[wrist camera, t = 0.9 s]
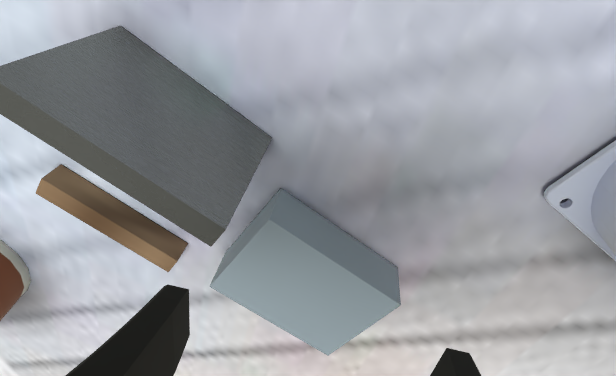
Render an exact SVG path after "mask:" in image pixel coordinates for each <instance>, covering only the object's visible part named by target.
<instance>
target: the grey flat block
mask: <svg viewBox="0 0 616 376" xmlns="http://www.w3.org/2000/svg"><path fill="white" fill-rule="evenodd" d="M0 114H1V115H3V116H4V117H6V118H8V119H9V120H11V121H12V122H14V123H16V124H17V125H19V126H20V127H22V128H24V129H25V130H27V131H28V132H30V133H31V134H33V135H35V136H36V137H38V138H39V139H41V140H43V141H44V142H46V143H47V144H49V145H50V146H52V147H54V148H55V149H57V150H58V151H60V152H62V153H63V154H65V155H66V156H68V157H70V158H71V159H73V160H74V161H76V162H77V163H79V164H81V165H82V166H84V167H85V168H87V169H89V170H90V171H92V172H93V173H95V174H96V175H98V176H100V177H101V178H103V179H104V180H106V181H108V182H109V183H111V184H112V185H114V186H116V187H117V188H119V189H120V190H122V191H123V192H125V193H127V194H128V195H130V196H131V197H133V198H135V199H136V200H138V201H139V202H141V203H143V204H144V205H146V206H147V207H149V208H150V209H152V210H154V211H155V212H157V213H158V214H160V215H162V216H163V217H165V218H166V219H168V220H169V221H171V222H173V223H174V224H176V225H177V226H179V227H181V228H182V229H184V230H185V231H187V232H189V233H190V234H192V235H193V236H195V237H196V238H198V239H200V240H201V241H203V242H204V243H206V244H208V245H209V246H212V245H213V244H214V243H215V242H216V240H217V239H218V238H219V237H220V236H221V235H222V233H223V232H224V231H225V230H226V228H227V226H228V224H229V222H230V220H231V218H232V216H233V214H234V212H235V210H236V208H237V206H238V204H239V202H240V201H241V199H242V197H243V195H244V193H245V191H246V189H247V187H248V185H249V183H250V181H251V179H252V177H253V175H254V173H255V171H256V169H257V167H258V165H259V163H260V161H261V159H262V157H263V155H264V153H265V151H266V149H267V147H268V145H269V143H270V142H271V140H272V137H270V136H269V135H268V134H266V133H265V132H264V131H262V130H261V129H260V128H258V127H257V126H256V125H254V124H253V123H251V122H250V121H249V120H247V119H246V118H245V117H243V116H242V115H241V114H239V113H238V112H237V111H235V110H234V109H233V108H231V107H230V106H228V105H227V104H226V103H224V102H223V101H222V100H220V99H219V98H218V97H216V96H215V95H214V94H212V93H211V92H209V91H208V90H207V89H205V88H204V87H203V86H201V85H200V84H199V83H197V82H196V81H195V80H193V79H192V78H191V77H189V76H188V75H186V74H185V73H184V72H182V71H181V70H180V69H178V68H177V67H176V66H174V65H173V64H172V63H170V62H169V61H167V60H166V59H165V58H163V57H162V56H161V55H159V54H158V53H157V52H155V51H154V50H153V49H151V48H150V47H149V46H147V45H146V44H144V43H143V42H142V41H140V40H139V39H138V38H136V37H135V36H134V35H132V34H131V33H130V32H128V31H127V30H125V29H124V28H123V27H121V26H118V27H115V28H112V29H109V30H106V31H103V32H100V33H97V34H94V35H91V36H88V37H85V38H82V39H79V40H76V41H73V42H70V43H67V44H64V45H61V46H58V47H55V48H52V49H49V50H46V51H44V52H41V53H38V54H35V55H32V56H29V57H26V58H23V59H20V60H17V61H14V62H11V63H8V64H5V65H2V66H0Z"/></svg>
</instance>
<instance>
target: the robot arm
mask: <svg viewBox="0 0 616 376" xmlns="http://www.w3.org/2000/svg"><path fill="white" fill-rule="evenodd" d="M544 198H545V199H546V201H547V202H548V203H549V204H550V205H551V206H552V207H553V208H554V209H556V210H557V211H558V212H559V213H560V214H561V215H562V216H564V217H565V218H566V219H567V220H568V221H569V222H571V223H572V224H573V225H574V226H575V227H576V228H577V229H579V230H580V231H581V232H582V233H583V234H584V235H586V236H587V237H588V238H589V239H590V240H591V241H592V242H594V243H595V244H596V245H597V246H598V247H599V248H601V249H602V250H603V251H604V252H605V253H606V254H608V255H609V256H610V257H611V258H612V259H613V260H614V261H616V140H615V141H614V142H612V143H611V144H609V145H608V146H606V147H605V148H604V149H602V150H601V151H599V152H598V153H596V154H595V155H593V156H592V157H591V158H589V159H588V160H586V161H585V162H583V163H582V164H580V165H579V166H578V167H576V168H575V169H573V170H572V171H570V172H569V173H568V174H566V175H565V176H563V177H562V178H560V179H559V180H557V181H556V182H555V183H553V184H552V185H550V186H549V187H548V188H547V189H546V190H545V192H544ZM568 198H569V199H568ZM563 199H568V200H567V201H566V202H564V203H560V202H561V201H562V200H563ZM189 335H190V332H189V289H185V288H180V287H176V286H172V285H166V286H164V287H163V288H162V289H161V290H160V291H159V292H158V293H157V294H156V295H155V296H154V297H153V298H152V299H151V300H150V301H149V302H148V303H147V304H146V305H145V306H144V307H143V308H142V309H141V310H140V311H139V312H138V313H137V314H136V315H135V316H134V317H132V318H131V319H130V320H129V321H128V322H127V323H126V324H125V325H124V326H123V327H122V328H121V329H119V330H118V331H117V332H116V333H115V334H114V335H113V336H112V337H111V338H109V339H108V340H107V341H106V342H105V343H104V344H103V345H102V346H100V347H99V348H98V349H97V350H96V351H95V352H94V353H92V354H91V355H90V356H89V357H88V358H86V359H85V360H84V361H83V362H81V363H80V364H79V365H78V366H77V367H75V368H74V369H73V370H72V371H71V372H69V373H68V374H67V375H66V376H173V375H174V373H175V371H176V368H177V366H178V363H179V361H180V359H181V356H182V353H183V351H184V348H185V346H186V343H187V340H188V338H189ZM430 376H481V374H480V372H479V370H478V369H477V367H476V365H475V363H474V361H473V359H472V357H471V355H470V354H469V353H466V352H462V351H457V350H453V349H449V348H446V350H445V352H444V353H443V355H442V357H441V358H440V360H439V362H438V363H437V365H436V367H435V368H434V370H433V372H432V373H431V375H430Z"/></svg>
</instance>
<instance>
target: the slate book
mask: <svg viewBox="0 0 616 376" xmlns="http://www.w3.org/2000/svg"><path fill="white" fill-rule="evenodd" d="M210 287H211V288H213V289H214V290H216V291H218V292H220V293H221V294H223V295H225V296H226V297H228V298H230V299H232V300H233V301H235V302H237V303H238V304H240V305H242V306H244V307H245V308H247V309H249V310H250V311H252V312H254V313H256V314H257V315H259V316H261V317H262V318H264V319H266V320H268V321H269V322H271V323H273V324H274V325H276V326H278V327H280V328H281V329H283V330H285V331H287V332H288V333H290V334H292V335H293V336H295V337H297V338H299V339H300V340H302V341H304V342H305V343H307V344H309V345H311V346H312V347H314V348H316V349H317V350H319V351H321V352H323V353H324V354H326V355H330V354H331V353H332V352H334V351H335V350H337V349H338V348H340V347H341V346H343V345H344V344H345V343H347V342H348V341H350V340H351V339H353V338H354V337H355V336H357V335H358V334H360V333H361V332H363V331H364V330H366V329H367V328H368V327H370V326H371V325H373V324H374V323H376V322H377V321H378V320H380V319H381V318H383V317H384V316H386V315H387V314H389V313H390V312H391V311H393V310H394V309H396V308H397V307H399V306H400V305H401V303H400V290H399V278H398V268H397V267H396V266H394V265H393V264H391V263H390V262H389V261H387V260H386V259H384V258H383V257H381V256H380V255H378V254H377V253H375V252H374V251H372V250H371V249H369V248H368V247H367V246H365V245H364V244H362V243H361V242H359V241H358V240H356V239H355V238H353V237H352V236H350V235H349V234H347V233H346V232H344V231H343V230H342V229H340V228H339V227H337V226H336V225H334V224H333V223H331V222H330V221H328V220H327V219H325V218H324V217H322V216H321V215H320V214H318V213H317V212H315V211H314V210H312V209H311V208H309V207H308V206H306V205H305V204H303V203H302V202H300V201H299V200H297V199H296V198H295V197H293V196H292V195H290V194H289V193H287V192H286V191H284V190H283V189H280V190H279V191H278V192H277V193H276V194H275V196H274V197H273V198H272V199H271V200H270V201H269V203H268V204H267V205H266V206H265V207H264V208H263V210H262V211H261V212H260V213H259V214H258V215H257V217H256V218H255V219H254V220H253V221H252V222H251V224H250V225H249V226H248V227H247V228H246V229H245V231H244V232H243V233H242V234H241V235H240V236H239V238H238V239H237V240H236V241H235V242H234V243H233V245H232V246H231V247H230V248H229V249H228V250H227V252H226V253H225V255H224V257H223V259H222V261H221V263H220V265H219V267H218V270H217V272H216V274H215V276H214V278H213V280H212V282H211V285H210Z"/></svg>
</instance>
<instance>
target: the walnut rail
mask: <svg viewBox="0 0 616 376" xmlns="http://www.w3.org/2000/svg"><path fill="white" fill-rule="evenodd" d="M36 194H38V195H39V196H41V197H43V198H44V199H46V200H48V201H49V202H51V203H53V204H55V205H56V206H58V207H60V208H61V209H63V210H65V211H66V212H68V213H70V214H71V215H73V216H75V217H76V218H78V219H80V220H81V221H83V222H85V223H86V224H88V225H90V226H92V227H93V228H95V229H97V230H98V231H100V232H102V233H103V234H105V235H107V236H108V237H110V238H112V239H113V240H115V241H117V242H118V243H120V244H122V245H123V246H125V247H127V248H129V249H130V250H132V251H134V252H135V253H137V254H139V255H140V256H142V257H144V258H145V259H147V260H149V261H150V262H152V263H154V264H155V265H157V266H159V267H160V268H162V269H164V270H166V271H167V272H169V271H170V270H171V268H172V267H173V266H174V265H175V263H176V262H177V261H178V259H179V258H180V256H181V254H182V253H183V251H184V249H185V248H186V246H187V244H188V243H186V242H185V241H183V240H182V239H180V238H178V237H177V236H175V235H174V234H172V233H170V232H169V231H167V230H166V229H164V228H162V227H161V226H159V225H158V224H156V223H154V222H153V221H151V220H150V219H148V218H146V217H145V216H143V215H141V214H140V213H138V212H137V211H135V210H133V209H132V208H130V207H129V206H127V205H125V204H124V203H122V202H121V201H119V200H117V199H116V198H114V197H113V196H111V195H109V194H108V193H106V192H105V191H103V190H101V189H100V188H98V187H96V186H95V185H93V184H92V183H90V182H88V181H87V180H85V179H84V178H82V177H80V176H79V175H77V174H76V173H74V172H72V171H71V170H69V169H68V168H66V167H64V166H63V165H60V166H58V167H57V168H55V169H54V170H53V171H51V172H50V173H48V174H47V175H46V176H44V177H43V178H42V179H41V181H40V183H39V186H38V188H37V191H36Z"/></svg>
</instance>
